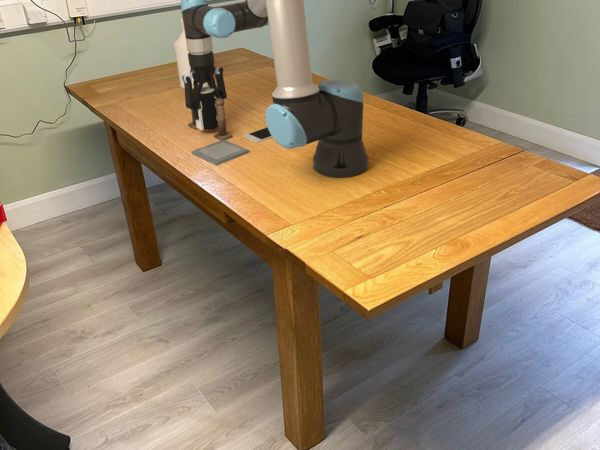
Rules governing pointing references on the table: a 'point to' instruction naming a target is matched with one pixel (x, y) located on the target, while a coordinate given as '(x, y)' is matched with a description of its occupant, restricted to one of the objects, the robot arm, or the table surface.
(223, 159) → the slate coaster
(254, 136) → the smartphone
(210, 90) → the beverage can
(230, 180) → the table surface
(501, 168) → the table surface
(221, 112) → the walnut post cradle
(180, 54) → the bottle
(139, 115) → the table surface
